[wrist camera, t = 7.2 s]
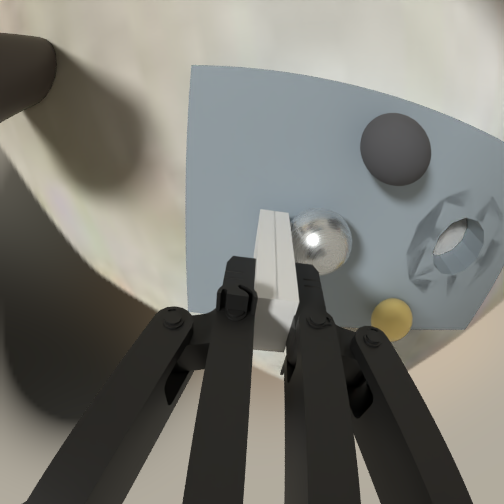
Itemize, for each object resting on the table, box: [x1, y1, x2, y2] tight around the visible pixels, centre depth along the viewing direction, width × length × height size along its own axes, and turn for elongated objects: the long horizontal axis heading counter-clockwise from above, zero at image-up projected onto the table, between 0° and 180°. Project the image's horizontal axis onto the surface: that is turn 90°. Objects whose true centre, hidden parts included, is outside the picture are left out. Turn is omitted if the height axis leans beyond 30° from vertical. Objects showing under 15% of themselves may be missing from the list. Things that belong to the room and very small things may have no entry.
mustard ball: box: [371, 298, 413, 342], centre depth 19 cm, size 3×3×3 cm
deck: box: [186, 65, 504, 330], centre depth 18 cm, size 24×16×2 cm, turn 84°
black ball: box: [360, 113, 431, 186], centre depth 12 cm, size 4×4×4 cm
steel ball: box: [290, 208, 352, 276], centre depth 15 cm, size 4×4×4 cm
